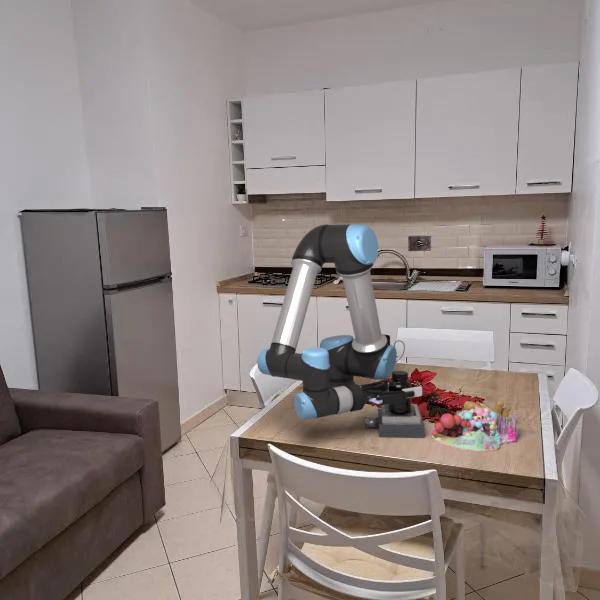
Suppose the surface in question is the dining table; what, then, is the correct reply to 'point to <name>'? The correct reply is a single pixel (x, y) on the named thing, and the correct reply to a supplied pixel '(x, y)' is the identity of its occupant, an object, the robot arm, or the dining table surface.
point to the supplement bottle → (398, 384)
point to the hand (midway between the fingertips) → (413, 387)
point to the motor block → (397, 423)
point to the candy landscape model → (476, 428)
